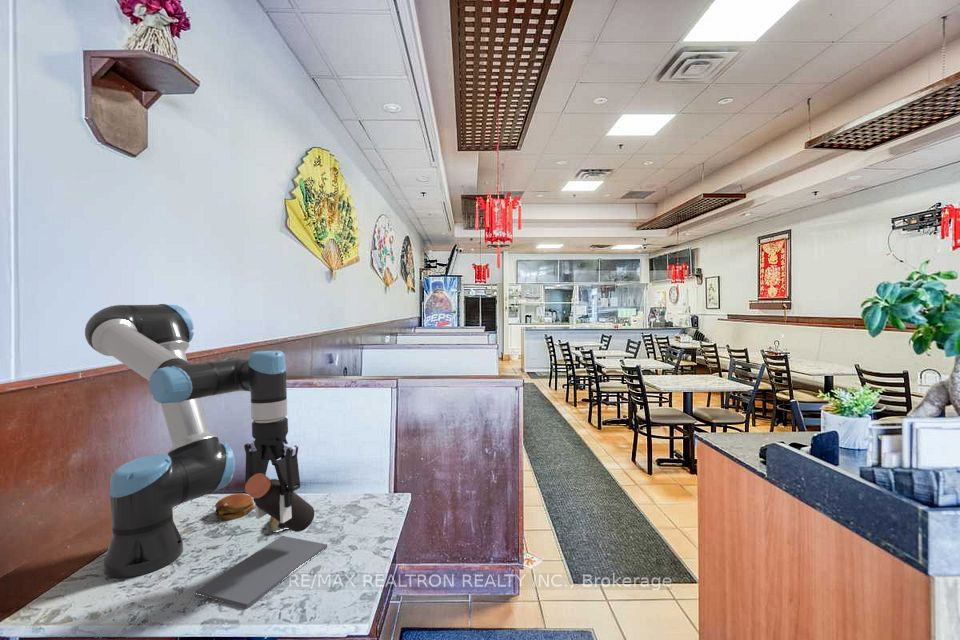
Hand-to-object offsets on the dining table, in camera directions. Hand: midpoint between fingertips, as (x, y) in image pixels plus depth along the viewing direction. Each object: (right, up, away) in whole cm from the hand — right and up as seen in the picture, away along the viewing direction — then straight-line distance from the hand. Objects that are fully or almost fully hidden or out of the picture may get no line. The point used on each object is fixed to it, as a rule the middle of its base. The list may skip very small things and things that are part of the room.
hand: (273, 518), depth 107 cm
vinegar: (+3, -4, +9) cm, 10 cm away
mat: (-1, -11, -2) cm, 11 cm away
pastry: (-6, -11, +19) cm, 23 cm away
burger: (-24, -11, +28) cm, 38 cm away
